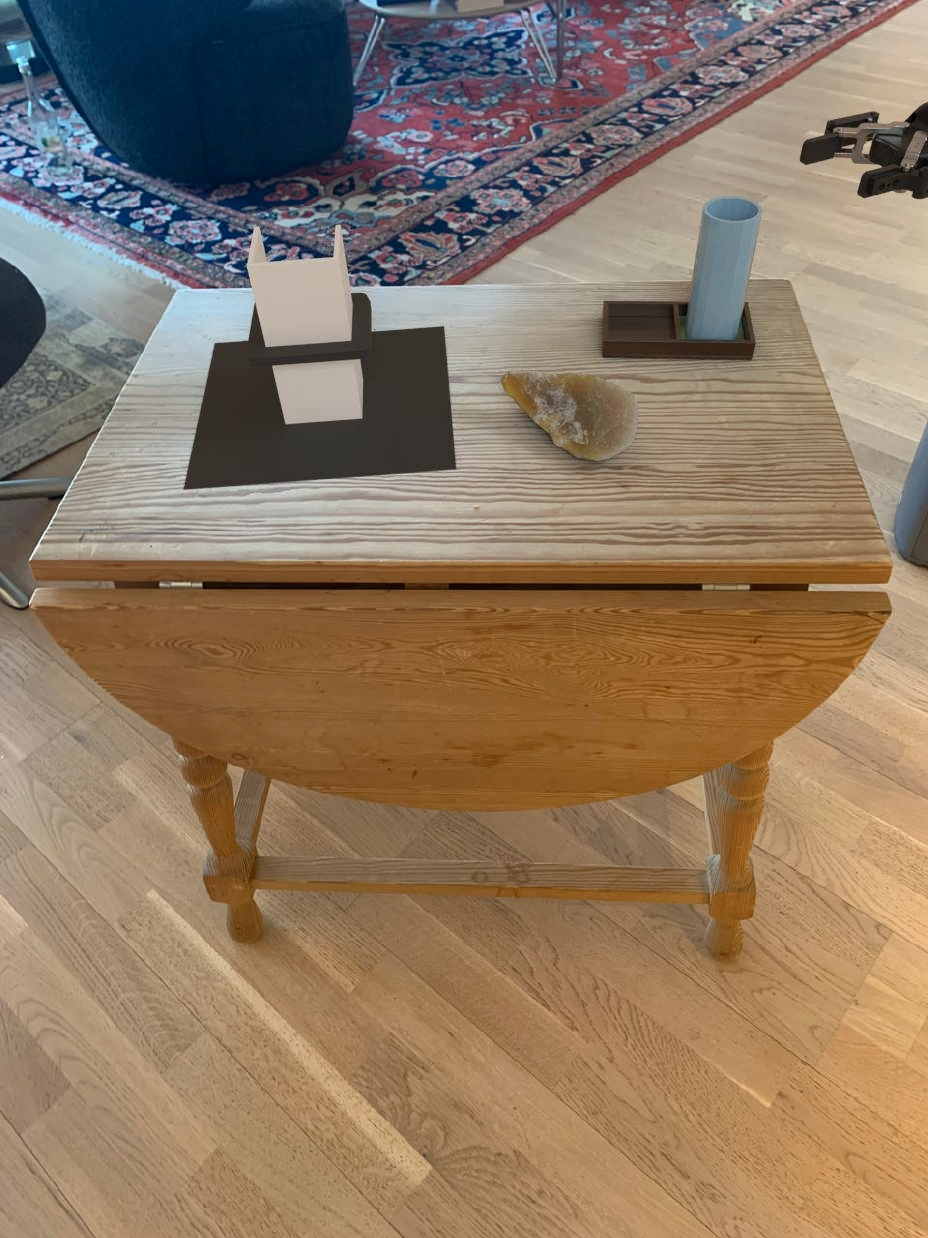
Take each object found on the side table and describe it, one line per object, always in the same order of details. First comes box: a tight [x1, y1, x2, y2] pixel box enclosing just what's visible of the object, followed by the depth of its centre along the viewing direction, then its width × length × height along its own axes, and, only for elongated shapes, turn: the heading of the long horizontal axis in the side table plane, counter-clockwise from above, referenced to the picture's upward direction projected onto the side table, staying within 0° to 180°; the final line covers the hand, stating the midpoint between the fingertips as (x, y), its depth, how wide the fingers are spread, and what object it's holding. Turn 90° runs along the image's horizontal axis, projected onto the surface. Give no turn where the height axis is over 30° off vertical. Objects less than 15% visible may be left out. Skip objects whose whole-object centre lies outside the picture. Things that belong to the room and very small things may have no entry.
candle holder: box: [183, 224, 457, 490], centre depth 86 cm, size 25×24×16 cm
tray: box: [601, 300, 757, 361], centre depth 96 cm, size 8×15×2 cm, turn 84°
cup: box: [685, 195, 764, 340], centre depth 92 cm, size 5×5×13 cm
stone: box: [500, 369, 640, 462], centre depth 85 cm, size 7×6×15 cm
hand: (831, 168), depth 88 cm, fingers open, 8 cm apart
